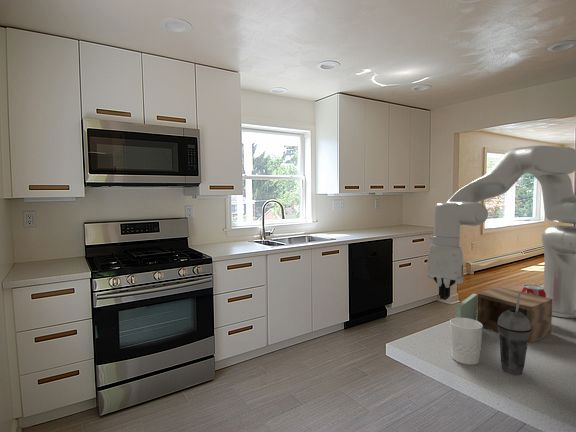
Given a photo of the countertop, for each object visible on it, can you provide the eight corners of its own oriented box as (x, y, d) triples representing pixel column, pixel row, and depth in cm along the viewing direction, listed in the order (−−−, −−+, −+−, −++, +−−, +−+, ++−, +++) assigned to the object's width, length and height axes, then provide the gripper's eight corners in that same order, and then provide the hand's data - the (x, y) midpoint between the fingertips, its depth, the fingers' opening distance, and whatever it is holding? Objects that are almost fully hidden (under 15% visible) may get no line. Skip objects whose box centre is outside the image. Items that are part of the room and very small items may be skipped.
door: (477, 324, 116) (477, 293, 115) (460, 340, 104) (460, 306, 104) (469, 322, 118) (470, 292, 117) (452, 338, 106) (453, 305, 105)
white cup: (478, 354, 97) (479, 319, 97) (484, 368, 90) (485, 330, 89) (447, 350, 100) (448, 316, 99) (450, 363, 93) (451, 326, 92)
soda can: (549, 325, 115) (550, 290, 114) (525, 324, 117) (526, 289, 116) (538, 318, 122) (540, 284, 121) (516, 316, 124) (517, 283, 123)
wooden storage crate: (498, 317, 123) (499, 286, 122) (550, 333, 110) (552, 299, 109) (476, 325, 117) (477, 293, 116) (530, 343, 103) (531, 307, 102)
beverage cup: (488, 364, 92) (491, 289, 90) (515, 362, 92) (518, 288, 91) (508, 379, 85) (511, 298, 83) (537, 377, 85) (540, 297, 83)
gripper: (418, 240, 113) (416, 296, 115) (467, 245, 103) (465, 306, 104) (427, 238, 119) (425, 291, 120) (475, 243, 108) (473, 301, 110)
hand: (444, 298), depth 112 cm, fingers closed
